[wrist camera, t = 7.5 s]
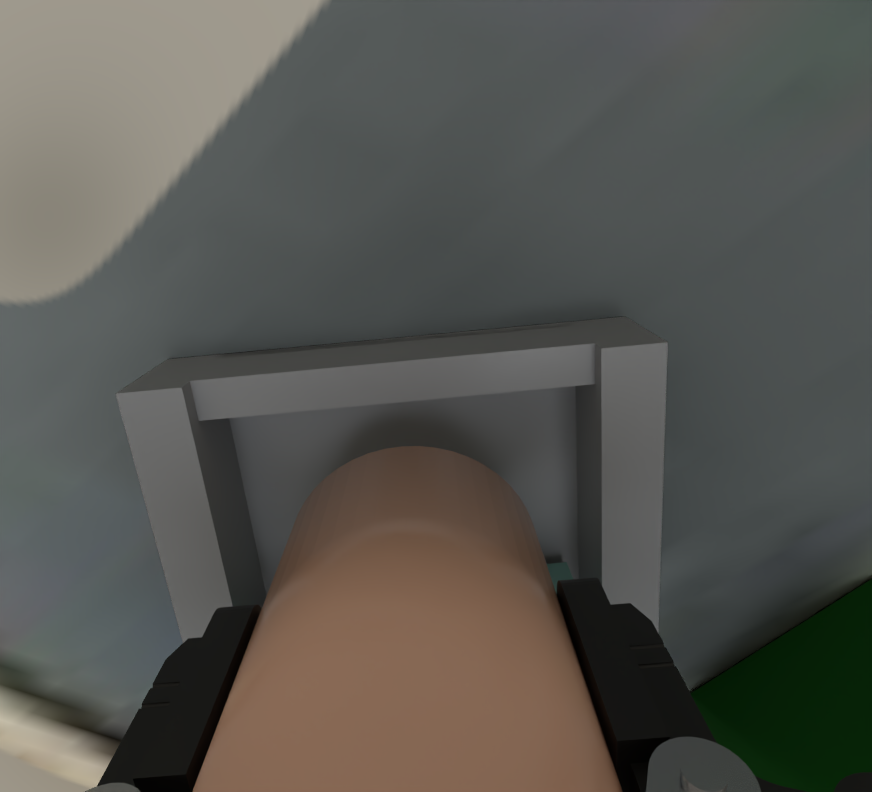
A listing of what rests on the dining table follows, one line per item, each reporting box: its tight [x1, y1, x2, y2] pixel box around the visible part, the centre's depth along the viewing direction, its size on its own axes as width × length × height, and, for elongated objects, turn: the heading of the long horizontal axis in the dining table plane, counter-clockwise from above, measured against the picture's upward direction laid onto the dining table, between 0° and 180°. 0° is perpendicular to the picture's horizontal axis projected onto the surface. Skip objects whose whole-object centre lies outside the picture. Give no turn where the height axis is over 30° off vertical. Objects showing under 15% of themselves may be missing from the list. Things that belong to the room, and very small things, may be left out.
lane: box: [116, 317, 668, 643], centre depth 16 cm, size 12×15×6 cm
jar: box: [192, 446, 623, 792], centre depth 10 cm, size 6×6×9 cm
